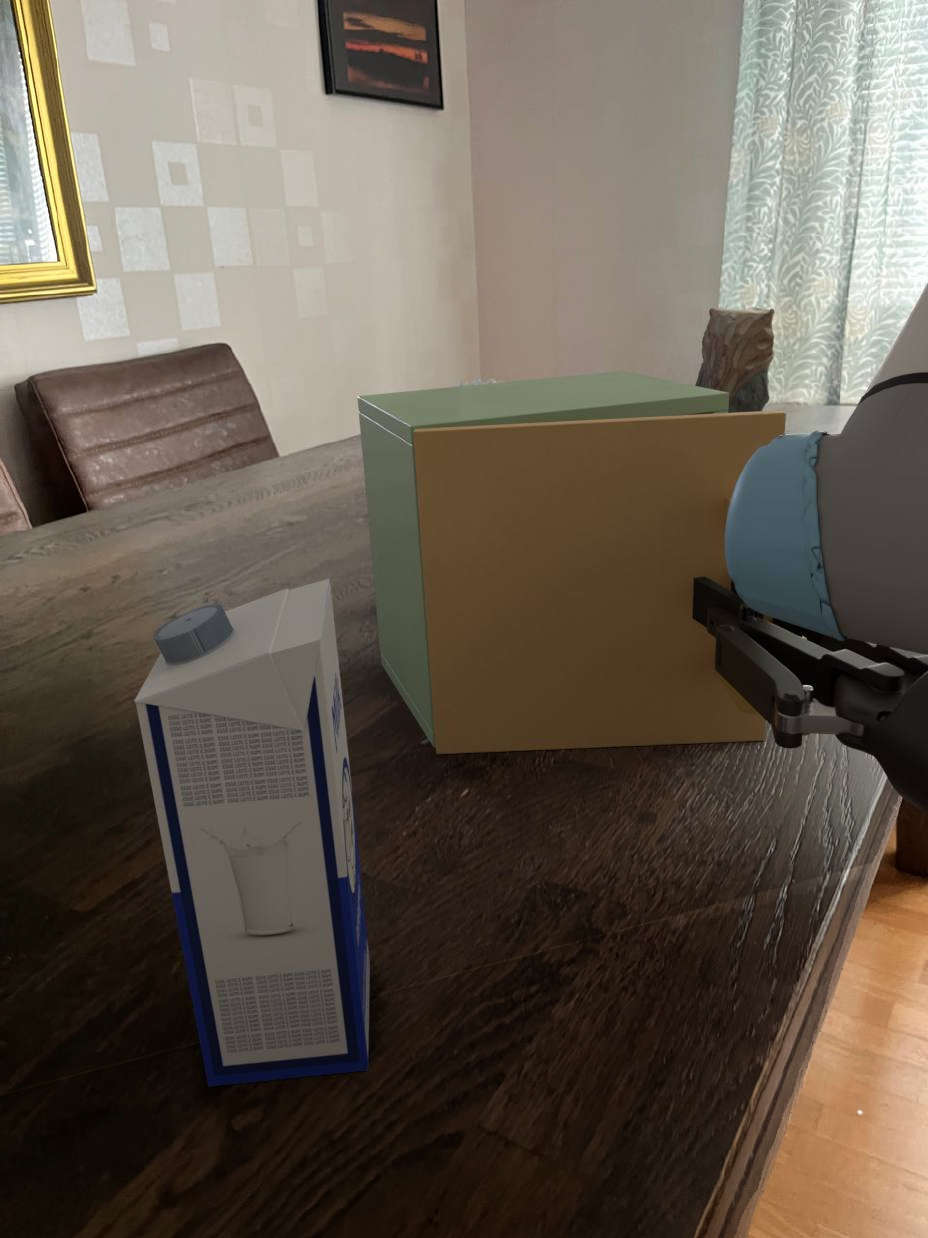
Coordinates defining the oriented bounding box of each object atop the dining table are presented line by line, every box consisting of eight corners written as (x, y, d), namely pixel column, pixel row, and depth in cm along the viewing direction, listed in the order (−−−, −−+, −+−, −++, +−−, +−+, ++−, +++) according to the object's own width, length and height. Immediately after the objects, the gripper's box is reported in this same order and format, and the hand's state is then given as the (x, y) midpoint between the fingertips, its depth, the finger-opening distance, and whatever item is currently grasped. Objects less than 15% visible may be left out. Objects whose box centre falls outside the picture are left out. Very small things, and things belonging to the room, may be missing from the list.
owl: (692, 413, 192) (695, 308, 185) (755, 409, 192) (761, 304, 185) (709, 423, 180) (713, 311, 173) (776, 419, 180) (783, 307, 173)
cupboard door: (791, 785, 60) (819, 429, 52) (432, 800, 61) (407, 450, 53) (761, 734, 67) (781, 409, 59) (436, 747, 67) (414, 428, 59)
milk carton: (368, 1074, 41) (319, 634, 34) (207, 1091, 40) (123, 649, 33) (370, 960, 47) (329, 572, 40) (231, 973, 47) (166, 584, 40)
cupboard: (716, 692, 73) (729, 392, 65) (433, 748, 67) (410, 425, 59) (621, 623, 88) (622, 370, 80) (381, 664, 82) (357, 395, 74)
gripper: (1177, 654, 40) (824, 521, 62) (872, 718, 37) (608, 553, 58) (1142, 809, 43) (815, 631, 64) (854, 884, 39) (608, 668, 60)
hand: (717, 594), depth 61 cm, fingers open, 2 cm apart
